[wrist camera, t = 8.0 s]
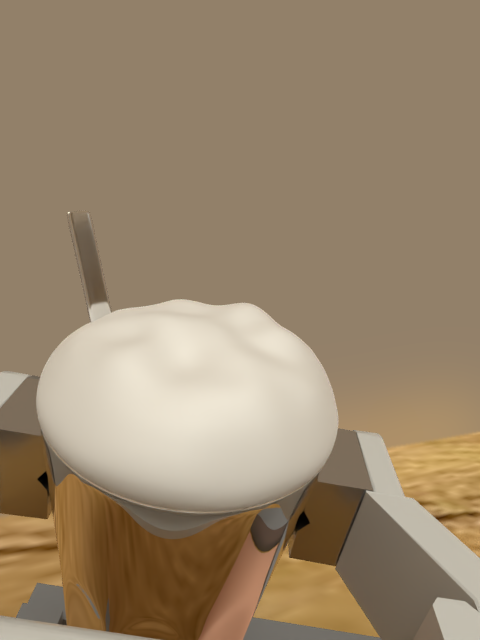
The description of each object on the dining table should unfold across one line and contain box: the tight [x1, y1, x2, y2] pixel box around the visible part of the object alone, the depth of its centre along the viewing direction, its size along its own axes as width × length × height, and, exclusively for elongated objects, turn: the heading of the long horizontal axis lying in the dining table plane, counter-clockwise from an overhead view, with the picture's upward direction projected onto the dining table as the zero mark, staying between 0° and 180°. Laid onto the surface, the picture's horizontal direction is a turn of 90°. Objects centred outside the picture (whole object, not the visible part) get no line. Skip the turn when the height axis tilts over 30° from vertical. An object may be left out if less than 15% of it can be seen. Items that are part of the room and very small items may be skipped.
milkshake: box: [36, 211, 338, 640], centre depth 9 cm, size 4×5×10 cm
